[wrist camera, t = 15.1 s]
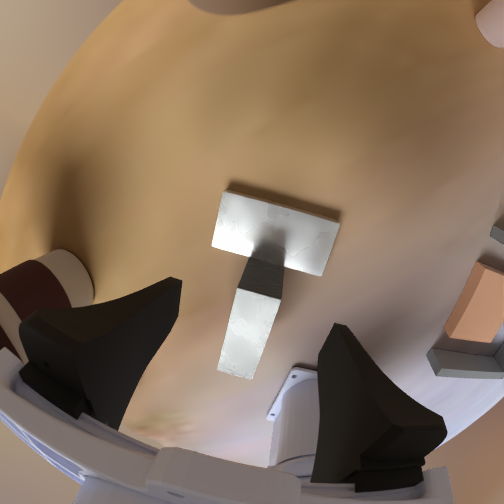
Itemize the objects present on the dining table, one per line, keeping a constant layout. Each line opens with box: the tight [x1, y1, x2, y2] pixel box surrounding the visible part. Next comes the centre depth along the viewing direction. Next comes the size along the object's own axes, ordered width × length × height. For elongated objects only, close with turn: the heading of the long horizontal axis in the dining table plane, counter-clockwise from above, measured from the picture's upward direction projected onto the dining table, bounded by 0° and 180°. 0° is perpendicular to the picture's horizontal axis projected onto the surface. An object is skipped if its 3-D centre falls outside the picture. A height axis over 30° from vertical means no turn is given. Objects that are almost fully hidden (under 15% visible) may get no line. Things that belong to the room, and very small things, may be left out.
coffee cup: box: [0, 249, 94, 366], centre depth 17 cm, size 10×10×15 cm
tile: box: [443, 261, 504, 343], centre depth 18 cm, size 7×7×2 cm
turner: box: [212, 189, 340, 380], centre depth 18 cm, size 11×8×6 cm
